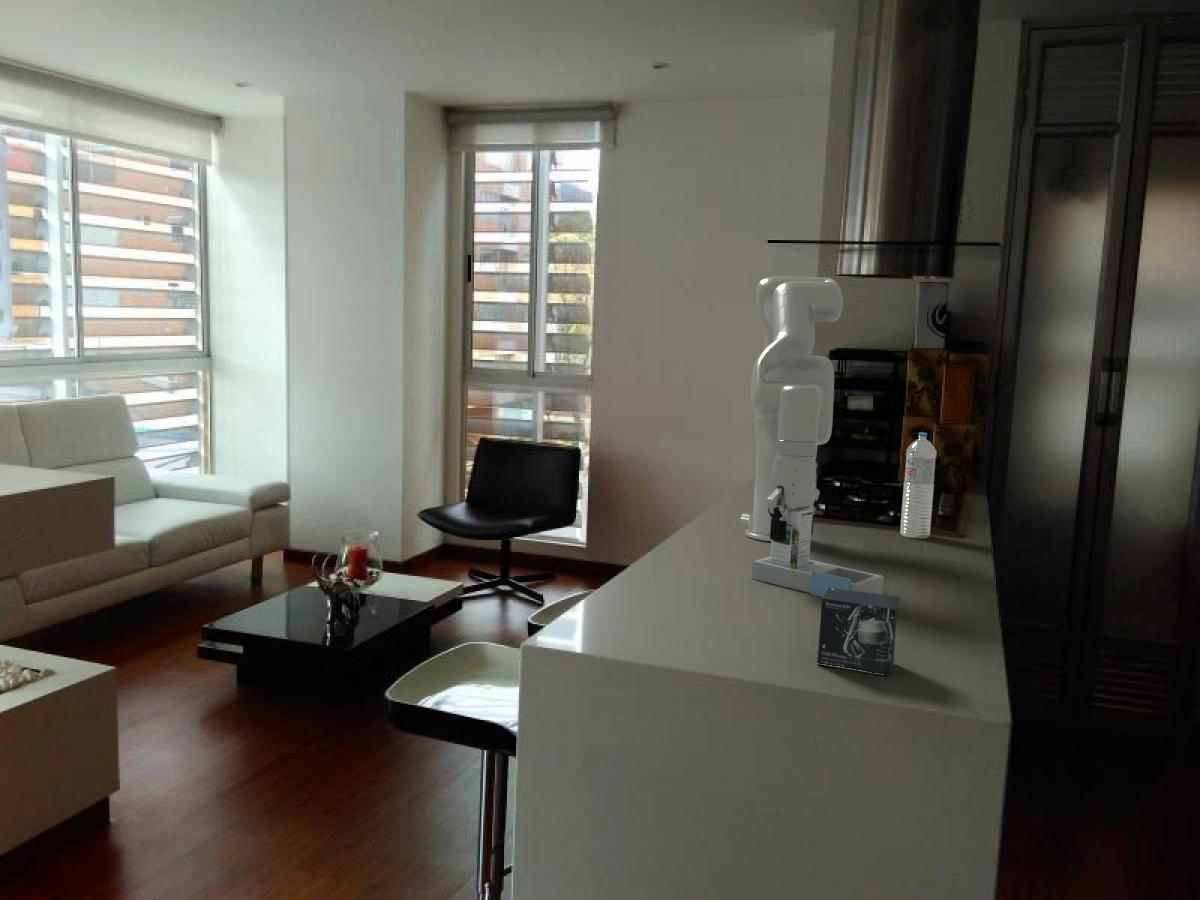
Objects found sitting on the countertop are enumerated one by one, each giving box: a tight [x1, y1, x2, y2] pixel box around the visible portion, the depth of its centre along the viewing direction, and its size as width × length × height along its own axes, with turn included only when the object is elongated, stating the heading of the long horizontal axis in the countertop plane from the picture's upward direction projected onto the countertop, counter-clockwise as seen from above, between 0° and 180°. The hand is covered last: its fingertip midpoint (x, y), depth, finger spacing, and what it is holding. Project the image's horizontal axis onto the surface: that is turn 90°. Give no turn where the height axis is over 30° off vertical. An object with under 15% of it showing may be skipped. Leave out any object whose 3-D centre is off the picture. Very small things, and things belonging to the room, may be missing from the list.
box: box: [816, 588, 900, 676], centre depth 141 cm, size 11×7×10 cm, turn 69°
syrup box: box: [770, 508, 813, 569], centre depth 186 cm, size 6×6×14 cm
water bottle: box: [899, 431, 938, 540], centre depth 228 cm, size 7×7×25 cm
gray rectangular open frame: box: [751, 555, 884, 598], centre depth 183 cm, size 22×10×4 cm, turn 47°
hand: (791, 537), depth 186 cm, fingers open, 9 cm apart
